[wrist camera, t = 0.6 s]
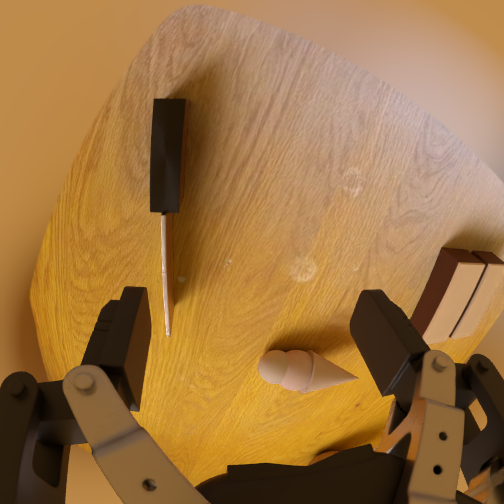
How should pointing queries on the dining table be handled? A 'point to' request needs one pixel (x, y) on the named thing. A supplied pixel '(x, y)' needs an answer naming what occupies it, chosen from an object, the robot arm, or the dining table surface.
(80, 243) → the dining table surface
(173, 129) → the knife
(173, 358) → the dining table surface
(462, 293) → the slotted tan block
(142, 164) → the dining table surface
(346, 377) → the ice cream cone
